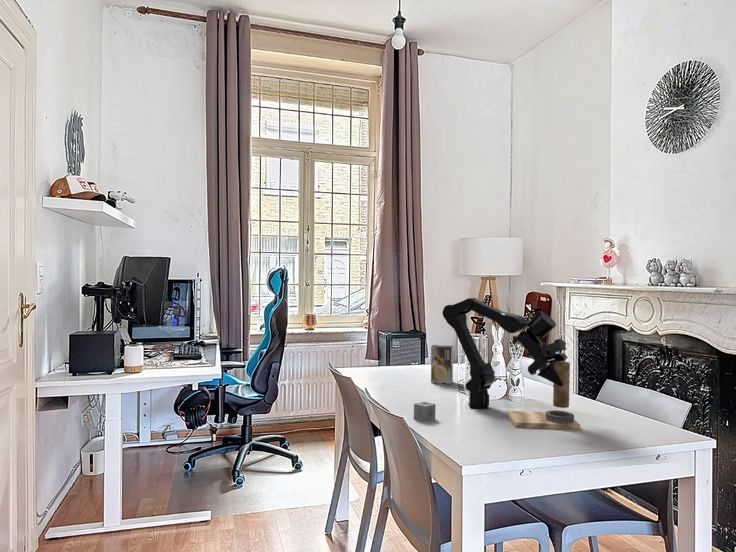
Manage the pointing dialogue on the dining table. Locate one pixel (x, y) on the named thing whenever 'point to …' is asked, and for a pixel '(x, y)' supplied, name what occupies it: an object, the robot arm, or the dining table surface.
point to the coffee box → (442, 364)
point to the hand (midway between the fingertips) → (565, 384)
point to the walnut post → (561, 392)
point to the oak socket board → (543, 419)
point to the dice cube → (424, 411)
